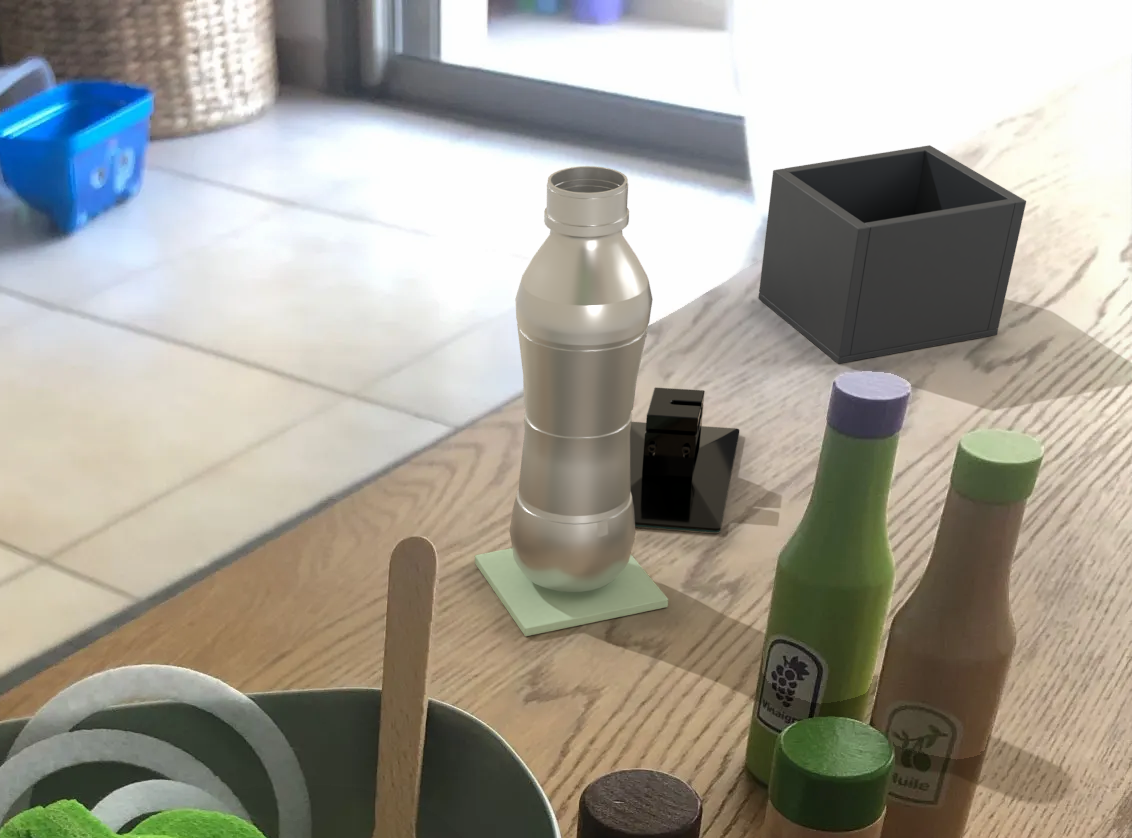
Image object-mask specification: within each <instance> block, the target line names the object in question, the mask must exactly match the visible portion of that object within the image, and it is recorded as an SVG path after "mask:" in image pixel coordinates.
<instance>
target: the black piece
mask: <svg viewBox="0 0 1132 838" xmlns="http://www.w3.org/2000/svg"><path fill="white" fill-rule="evenodd" d="M705 392H706V391H705V390H702V389H689V388H688V389H685V388H670V387H669V388H668V387H654V388H653V392H652V395H651V399H650V402H649V406H648V409H647V413H646V418H645V419H646V421H645V422H643V421H642V422H641V421H631V429H630V479H631V490H630V491H631V495H632V499H633V506H634V516H635V528H639V529H640V528H641V529H652V530H653V529H654V530H664V531H665V530H666V531H676V532H677V531H678V532H679V531H680V532H691V533H705V534H720V533H721V532H722V531H721V530H722V526H723V519H724V514H725V510H726V504H727V500H728V496H729V495H728V494H729V490H730V489H729V488H730V483H731V480H732V473H733V469H734V463H735V457H736V453H737V448H738V443H739V437H740V429H739V428H735V427H721V426H719V427H718V426H705V425H703V416H704V415H703V414H704V405H705V404H704V401H705Z"/></svg>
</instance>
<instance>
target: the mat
mask: <svg viewBox="0 0 1132 838" xmlns="http://www.w3.org/2000/svg"><path fill="white" fill-rule="evenodd" d="M474 564H475V565H476V567H477V568H478V570H479V571H480V573H481V575H482V576H483V577H484V578H485V580H486V582H487V583H488V584H489V586H490V587H491V589H492V591H493V592H494V593H495V595H496V596H497V597H498V599H499V601H500V602H501V603H502V605H503V606H504V608H505V609H506V611H507V612H508V614H509V615H510V616H511V618H512V619H513V622H515V624H516V626H517V627H518V628H519V630H520V631H521V632H522V634H523V635H524V637H530V636H534V635H540V634H544V633H549V632H553V631H559V630H564V629H569V628H573V627H578V626H583V625H587V624H592V623H597V622H602V621H606V620H607V621H608V620H611V619H612V620H613V619H616V618H621V617H626V616H631V615H636V614H641V613H646V612H650V611H654V610H655V611H656V610H661V609H664V608H668V607H669V598H668V597H667V595H666V594H665V593H664V592H663V591H662V590H661V589H660V587H659V586H658V585H657V584H656V583H655V581H654V580H653V578H651V576H650V575H649V573H647V572H646V571H645V569H644V568H643V567H642V566H641V564H640V563H639V562H638V560H637V559H635V557H634V556H633V555H632V554H631V555H630V559H629V562H628V564H627V565H626V567H625V568H624V569H623V571H622V572H621V573H620V574H619V575H618V576H617V577H616V578H615V579H614V580H613V581H612V582H611V583H609V584H608V585H606V586H603V587H601V588H598V589H594V590H590V591H583V592H562V591H556V590H551V589H547V588H544V587H541V586H539V585H537V584H535V583H533V582H532V581H530V580H529V579H528V578H527V577H526V576H525V575H524V574H523V572H522V571H521V569H520V568H519V567H518V565H517V564H516V562H515V560H514V556H513V550H512V547H509V548H505V549H500V550H495V551H490V552H489V551H488V552H485V553H480V554H475V555H474Z"/></svg>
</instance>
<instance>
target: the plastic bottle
mask: <svg viewBox="0 0 1132 838" xmlns="http://www.w3.org/2000/svg"><path fill="white" fill-rule="evenodd" d="M628 195H629V183H628V177H627V175H626V174H625V173H623V172H622V171H619V170H616V169H614V168H609V167H604V166H593V165H585V166H584V165H583V166H572V167H566V168H563V169H559V170H556V171H554V172H553V173H551V174H550V175H549V176H548V178H547V183H546V207H545V208H544V213H543V223H544V225H545V227H547V228H548V229H549V235H548V236H547V237H546V239H545V240H544V242H543V243H542V244H541V245H540V247H539V248H538V249H537V251H536V252H535V254H533V257H532V258H531V260H530V262H529V263H528V265H527V266H526V268H525V270H524V272H523V274H521V279H520V282H519V285H518V288H517V292H516V295H515V300H514V301H515V319H516V328H517V334H518V335H517V337H518V344H519V351H520V360H521V369H522V383H523V384H522V385H523V388H522V389H523V390H522V391H523V405H524V406H523V407H524V412H523V425H524V426H523V427H524V429H523V430H524V433H523V442H522V452H521V460H520V461H521V462H520V470H519V479H518V480H519V481H518V488H517V490H516V494H515V497H514V501H513V507H512V512H511V518H510V524H509V529H508V531H509V536H510V537H509V538H510V542H511V543H510V544H511V548H512V550H513V556H514V560H515V562H516V564H517V565H518V567H519V568H520V569H521V571H522V572H523V574H524V575H525V576H526V577H527V578H528V579H529V580H530V581H532V582H533V583H535V584H537V585H539V586H541V587H544V588H547V589H551V590H556V591H562V592H583V591H590V590H594V589H598V588H601V587H603V586H606V585H608V584H609V583H611V582H612V581H613V580H614V579H615V578H616V577H617V576H618V575H619V574H620V573H621V572H622V571H623V569H624V568H625V567H626V565H627V564H628V562H629V559H630V555H632V551H633V546H634V544H635V539H636V527H635V516H634V506H633V499H632V495H631V491H630V490H631V479H630V429H631V422H633V412H632V411H633V410H634V405H635V404H634V403H635V397H636V388H637V380H638V376H639V371H640V366H641V362H642V357H643V351H644V348H645V343H646V339H647V334H648V329H649V325H650V322H651V321H650V320H651V313H652V307H653V295H652V290H651V285H650V280H649V277H648V275H647V273H646V271H645V269H644V267H643V265H642V263H641V261H640V259H639V257H638V256H637V254H636V253H635V251H634V250H633V248H632V247H631V246H630V244H629V242H628V241H627V239H626V237H624V234H623V230H624V229H626V228H627V226H628V225H629V222H630V210H629V207H628V198H629V196H628Z"/></svg>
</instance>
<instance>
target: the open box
mask: <svg viewBox="0 0 1132 838" xmlns="http://www.w3.org/2000/svg"><path fill="white" fill-rule="evenodd" d="M769 195H770V196H769V204H768V213H767V222H766V230H765V236H764V237H765V238H764V247H763V256H762V262H761V263H762V265H761V273H760V274H761V275H760V280H759V281H760V282H759V289H758V290H759V291H758V296H757V298H758V300H760V301H761V302H762V303H763V304H764V305H766V306H767V307H768V308H769V309H771V310H772V311H773V312H774V313H776V314H777V315H778V316H779V317H780V318H782V319H783V321H785V322H787V324H789V325H790V326H792V327H793V328H794V329H795V330H796V331H797V332H799V333H800V334H802V336H804V337H805V338H806V339H807V340H809V341H810V342H811V343H812V344H813V345H815V346H816V348H819V350H821V351H822V352H824V354H826V355H827V356H828V357H829V358H830V359H832V360H833V361H834V362H836V364H844V363H849V362H854V361H860V360H865V359H871V358H876V357H877V358H878V357H881V356H889V355H893V354H898V353H905V352H909V351H915V350H920V349H925V348H931V347H937V346H943V345H947V344H954V343H960V342H965V341H969V340H975V339H980V338H987V337H991V336H997V335H998V332H999V327H1000V323H1001V319H1002V313H1003V309H1004V305H1005V300H1006V295H1007V291H1008V287H1009V282H1010V277H1011V274H1012V268H1013V263H1014V258H1015V254H1016V250H1017V245H1018V241H1019V237H1020V232H1021V228H1022V223H1023V218H1024V214H1025V209H1026V205H1027V200H1026V199H1024V198H1022V197H1020V196H1019V195H1017V194H1016V193H1013V192H1012V191H1010V190H1009V189H1007V188H1005V187H1003V186H1001V185H1000V184H998V183H997V182H994V181H993V180H990V179H989V178H988V177H986V176H984V175H982V174H981V173H979V172H978V171H975V170H974V169H972V168H971V167H968V166H967V165H965V164H963V163H962V162H959V160H956V159H955V158H953V157H952V156H949V155H948V154H946V153H944V152H942V151H941V150H939V149H937V148H936V147H933V146H932V145H922V146H915V147H910V148H903V149H897V150H891V151H886V152H878V153H872V154H866V155H859V156H854V157H847V158H841V159H835V160H828V161H822V162H815V163H809V164H803V165H796V166H790V167H784V168H779V169H773V170H772V177H771V186H770V194H769Z"/></svg>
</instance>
